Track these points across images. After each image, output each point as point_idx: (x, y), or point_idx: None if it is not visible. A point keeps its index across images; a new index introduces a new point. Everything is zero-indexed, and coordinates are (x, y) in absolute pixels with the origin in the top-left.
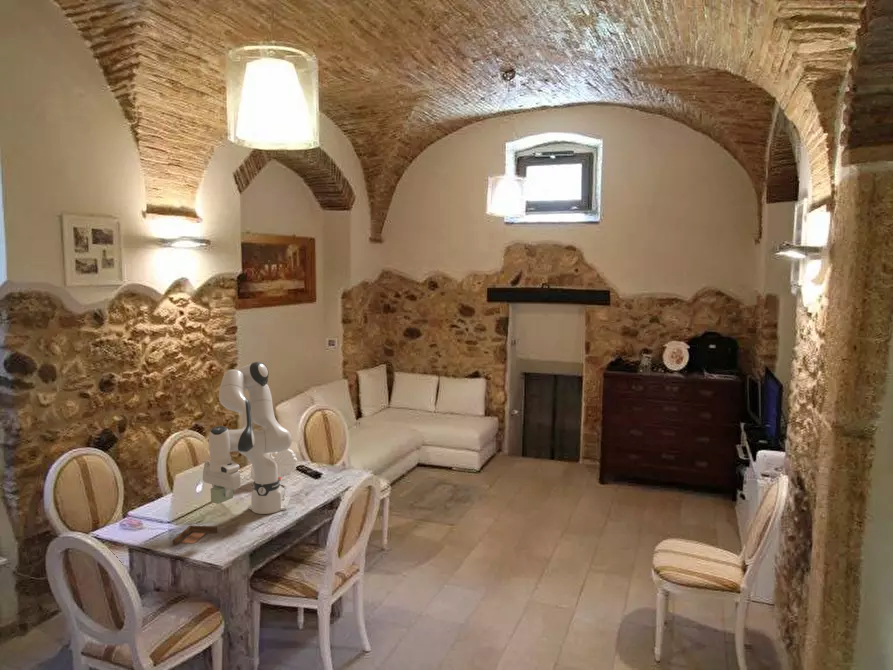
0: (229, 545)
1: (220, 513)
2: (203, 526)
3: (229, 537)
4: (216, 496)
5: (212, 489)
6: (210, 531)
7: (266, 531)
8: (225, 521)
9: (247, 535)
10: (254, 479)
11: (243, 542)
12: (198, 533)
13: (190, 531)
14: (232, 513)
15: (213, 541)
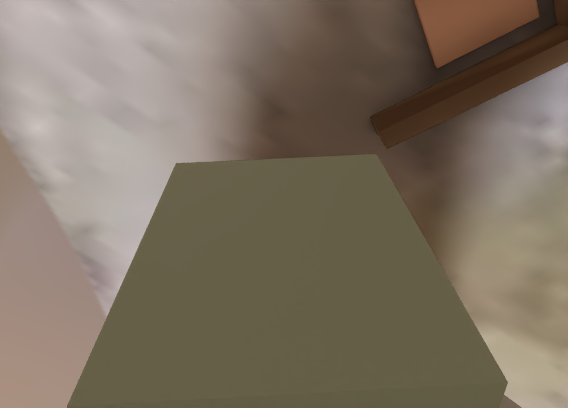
0: (98, 27)
1: (558, 296)
2: (487, 90)
3: (226, 119)
4: (195, 242)
5: (377, 375)
6: (413, 99)
7: (118, 285)
8: (450, 250)
9: (156, 199)
10: None
11: (70, 119)
12: (480, 31)
13: (562, 11)
14: (490, 324)
15: (266, 6)
